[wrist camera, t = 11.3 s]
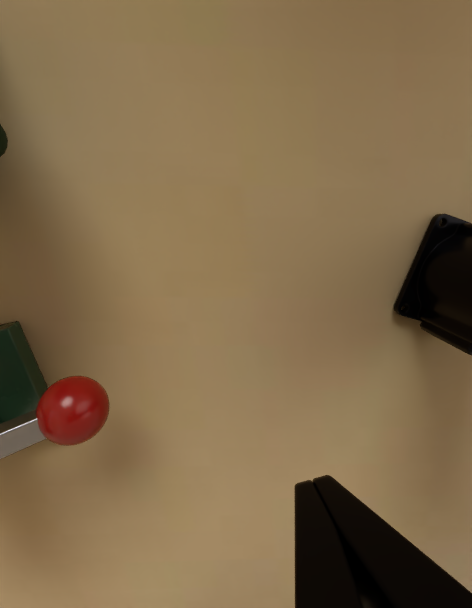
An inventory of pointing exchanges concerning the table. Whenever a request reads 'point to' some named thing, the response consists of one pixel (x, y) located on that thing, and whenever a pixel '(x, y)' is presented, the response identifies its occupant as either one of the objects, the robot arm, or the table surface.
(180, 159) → the table surface
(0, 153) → the toy figurine
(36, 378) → the bracket
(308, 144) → the table surface
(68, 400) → the lever
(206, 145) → the table surface
